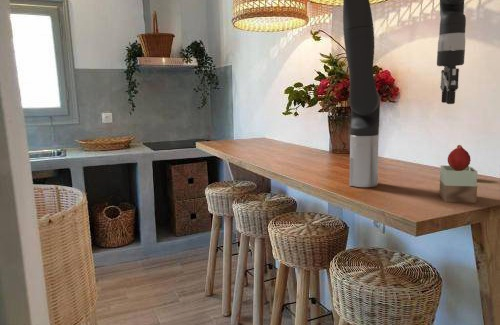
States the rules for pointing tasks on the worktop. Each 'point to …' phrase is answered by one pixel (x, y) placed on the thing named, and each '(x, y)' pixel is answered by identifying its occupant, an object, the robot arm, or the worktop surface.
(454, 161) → the onion
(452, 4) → the robot arm
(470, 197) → the bottom block
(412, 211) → the worktop surface
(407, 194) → the worktop surface
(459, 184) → the top block
